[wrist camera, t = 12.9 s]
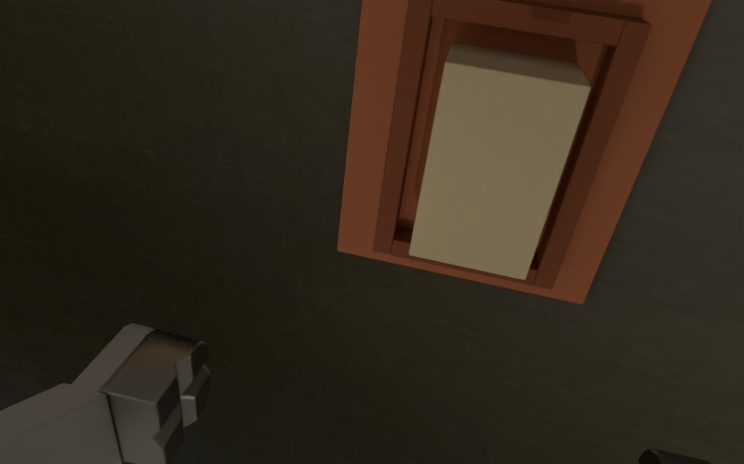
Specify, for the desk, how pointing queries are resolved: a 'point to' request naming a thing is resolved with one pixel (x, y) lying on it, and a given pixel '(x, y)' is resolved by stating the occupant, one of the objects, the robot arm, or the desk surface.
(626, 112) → the base pad
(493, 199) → the top pad
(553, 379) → the desk surface
